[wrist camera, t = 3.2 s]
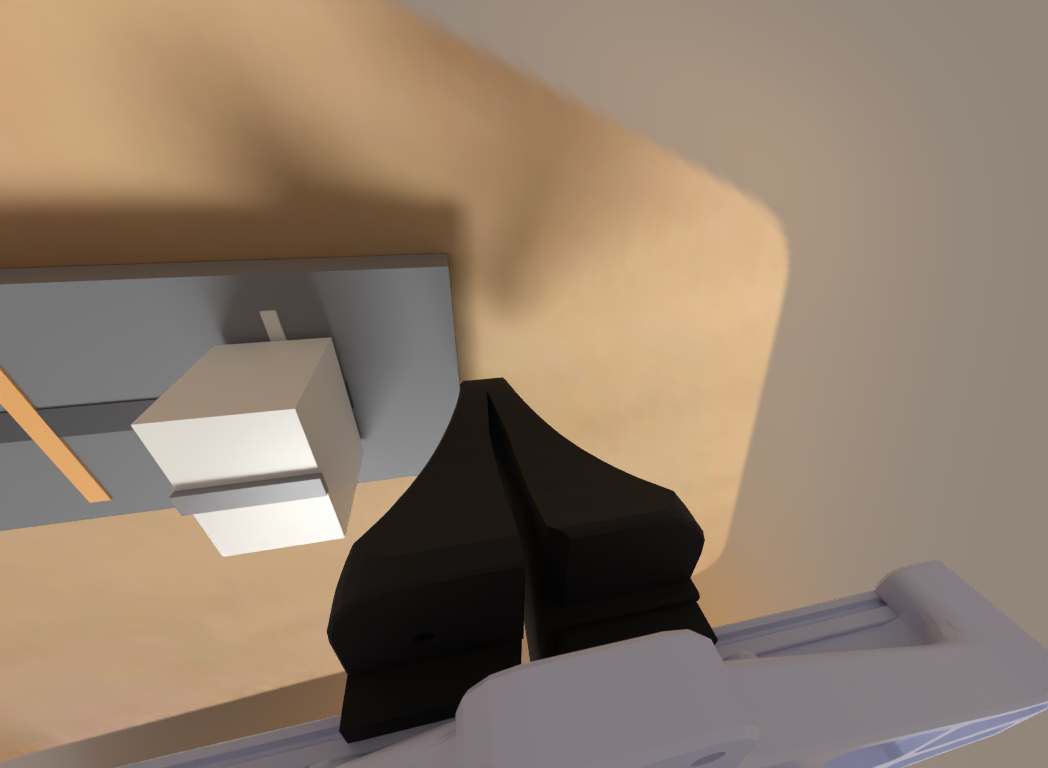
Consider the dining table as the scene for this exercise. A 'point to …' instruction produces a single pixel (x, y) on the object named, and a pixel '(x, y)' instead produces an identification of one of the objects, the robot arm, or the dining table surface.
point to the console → (180, 341)
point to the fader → (259, 444)
